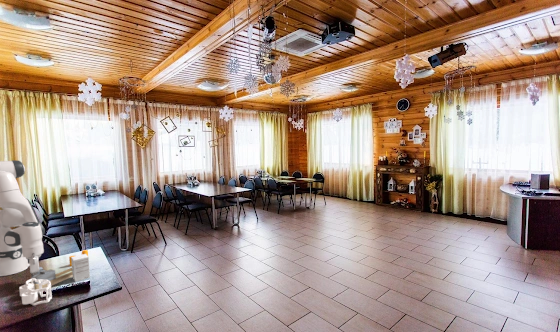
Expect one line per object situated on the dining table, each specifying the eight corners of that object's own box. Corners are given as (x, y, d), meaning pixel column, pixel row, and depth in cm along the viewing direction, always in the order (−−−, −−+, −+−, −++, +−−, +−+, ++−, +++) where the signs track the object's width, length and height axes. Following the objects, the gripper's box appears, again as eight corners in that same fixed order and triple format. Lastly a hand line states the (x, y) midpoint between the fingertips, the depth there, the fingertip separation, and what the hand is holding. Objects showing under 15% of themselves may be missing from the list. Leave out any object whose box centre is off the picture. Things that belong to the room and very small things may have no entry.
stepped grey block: (31, 281, 155) (31, 267, 155) (41, 278, 159) (40, 265, 158) (33, 283, 153) (33, 269, 152) (43, 280, 156) (43, 266, 156)
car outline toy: (19, 296, 142) (18, 282, 141) (47, 287, 150) (46, 274, 149) (23, 310, 128) (22, 295, 128) (53, 300, 136) (52, 286, 136)
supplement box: (72, 278, 160) (70, 257, 160) (87, 273, 166) (86, 253, 165) (74, 282, 155) (73, 260, 154) (90, 277, 160) (88, 256, 160)
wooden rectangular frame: (29, 289, 148) (27, 275, 147) (74, 270, 170) (73, 257, 170) (37, 291, 145) (36, 276, 145) (82, 272, 168) (82, 259, 168)
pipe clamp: (82, 259, 190) (81, 250, 189) (88, 259, 189) (87, 250, 189) (67, 266, 178) (66, 256, 177) (73, 266, 177) (72, 256, 177)
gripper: (41, 254, 148) (43, 279, 149) (40, 245, 163) (42, 267, 164) (25, 258, 144) (27, 283, 145) (25, 248, 159) (27, 271, 160)
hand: (35, 275), depth 155 cm, fingers closed on stepped grey block, 4 cm apart
